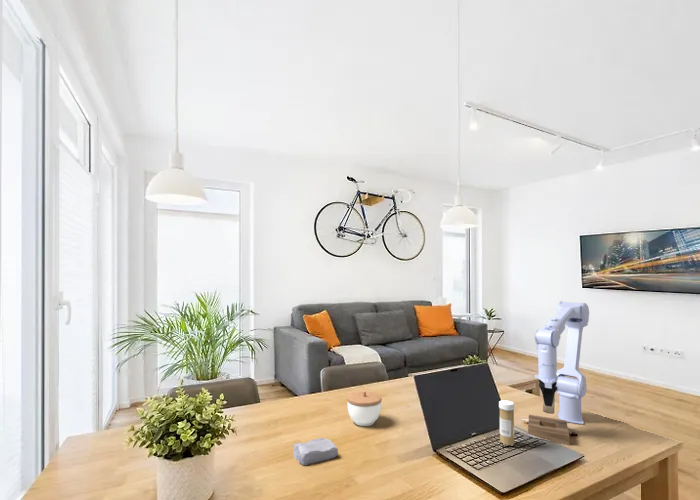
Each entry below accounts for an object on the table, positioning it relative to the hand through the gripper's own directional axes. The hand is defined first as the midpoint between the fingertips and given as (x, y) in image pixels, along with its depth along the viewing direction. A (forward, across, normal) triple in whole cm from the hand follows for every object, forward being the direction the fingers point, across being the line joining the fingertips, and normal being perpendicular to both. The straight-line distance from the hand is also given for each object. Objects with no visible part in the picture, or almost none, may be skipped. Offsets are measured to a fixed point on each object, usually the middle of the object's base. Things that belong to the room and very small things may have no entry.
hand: (548, 403), depth 131 cm
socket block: (+10, 0, 0) cm, 10 cm away
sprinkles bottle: (+10, +16, -12) cm, 23 cm away
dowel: (+3, 0, 0) cm, 3 cm away
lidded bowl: (+10, +21, -60) cm, 65 cm away
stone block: (+10, +50, -64) cm, 82 cm away
